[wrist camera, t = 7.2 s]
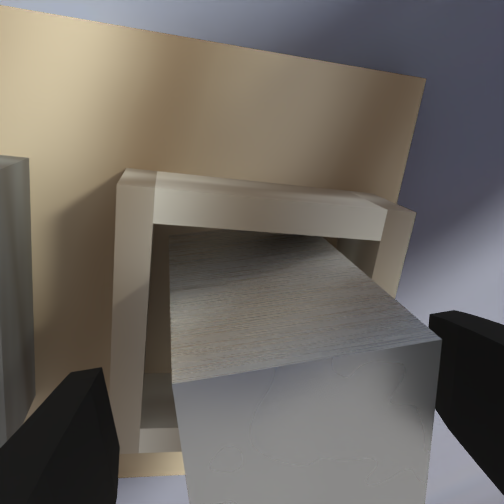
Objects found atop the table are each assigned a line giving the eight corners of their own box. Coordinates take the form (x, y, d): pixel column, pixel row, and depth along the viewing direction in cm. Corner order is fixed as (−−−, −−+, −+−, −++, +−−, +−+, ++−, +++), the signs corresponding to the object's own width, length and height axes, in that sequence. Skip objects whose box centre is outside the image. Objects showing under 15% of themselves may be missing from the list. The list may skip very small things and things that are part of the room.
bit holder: (407, 80, 13) (487, 72, 10) (324, 447, 17) (361, 527, 14) (-229, -28, 10) (-429, -95, 6) (-138, 465, 14) (-231, 576, 11)
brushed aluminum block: (302, 220, 13) (441, 339, 6) (305, 336, 14) (422, 531, 8) (168, 235, 12) (171, 384, 6) (184, 354, 14) (201, 584, 7)
